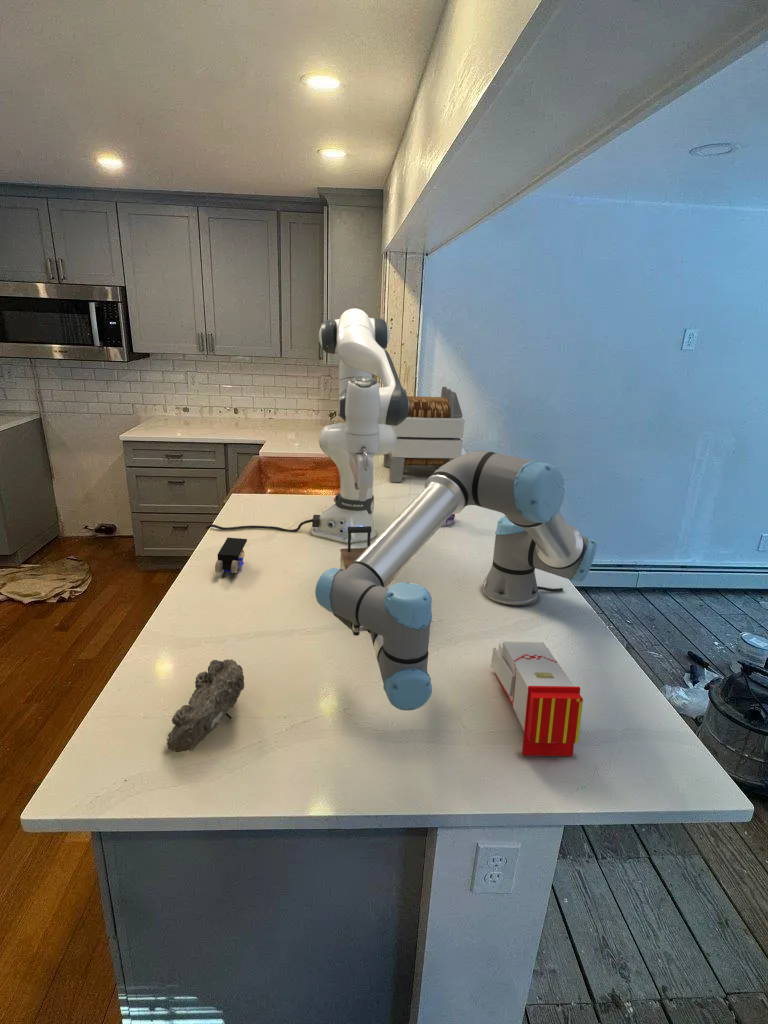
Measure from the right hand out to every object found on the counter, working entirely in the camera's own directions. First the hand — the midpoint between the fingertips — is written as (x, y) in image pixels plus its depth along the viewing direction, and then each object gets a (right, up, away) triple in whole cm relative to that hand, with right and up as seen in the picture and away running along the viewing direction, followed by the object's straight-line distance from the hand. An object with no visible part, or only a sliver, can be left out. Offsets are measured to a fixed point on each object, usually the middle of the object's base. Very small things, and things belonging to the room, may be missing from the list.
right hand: (376, 588), depth 124 cm
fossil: (-31, -22, -16) cm, 41 cm away
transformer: (+19, +36, +151) cm, 156 cm away
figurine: (+24, +13, +89) cm, 93 cm away
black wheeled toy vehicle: (-43, 0, +44) cm, 61 cm away
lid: (-4, +4, +26) cm, 27 cm away
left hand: (-5, +21, +25) cm, 33 cm away
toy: (+31, -23, -9) cm, 39 cm away
